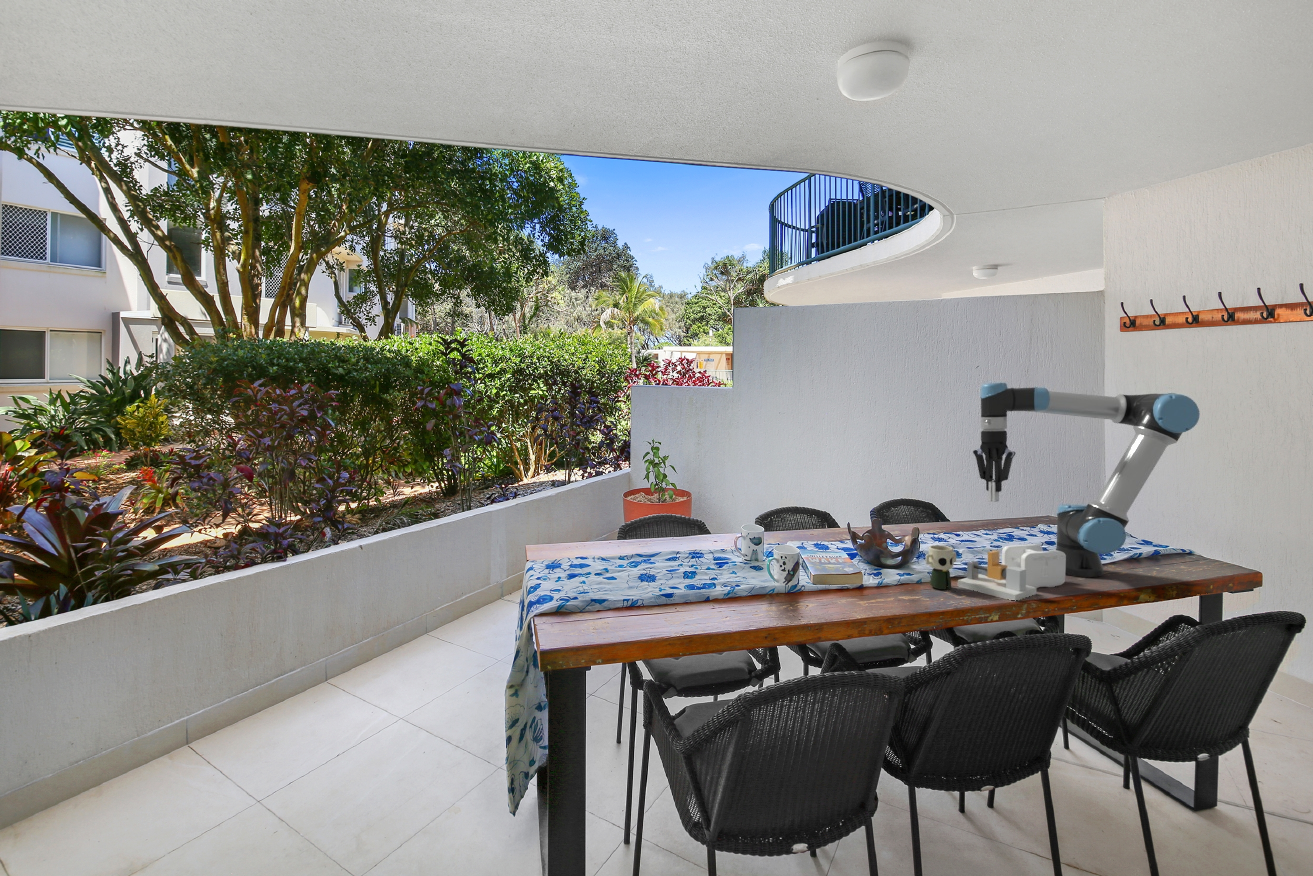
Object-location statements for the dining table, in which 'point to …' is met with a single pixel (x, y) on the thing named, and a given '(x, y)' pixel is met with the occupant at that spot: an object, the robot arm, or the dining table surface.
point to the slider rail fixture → (998, 582)
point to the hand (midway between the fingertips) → (993, 501)
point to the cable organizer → (1037, 564)
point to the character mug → (940, 565)
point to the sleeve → (995, 566)
